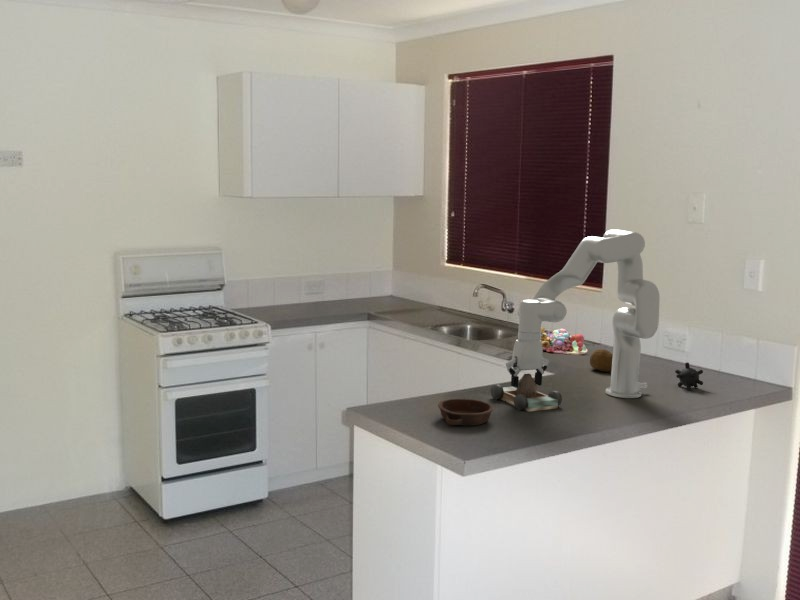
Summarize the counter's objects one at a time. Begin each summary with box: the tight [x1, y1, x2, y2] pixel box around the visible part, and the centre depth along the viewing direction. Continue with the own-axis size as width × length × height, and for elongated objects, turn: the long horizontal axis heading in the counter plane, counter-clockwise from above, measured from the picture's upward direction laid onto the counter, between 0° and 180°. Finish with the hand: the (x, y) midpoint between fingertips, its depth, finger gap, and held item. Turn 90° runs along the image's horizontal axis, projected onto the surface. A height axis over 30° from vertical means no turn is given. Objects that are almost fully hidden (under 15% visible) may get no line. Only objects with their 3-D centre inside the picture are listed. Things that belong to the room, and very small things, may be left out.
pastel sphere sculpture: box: [540, 326, 588, 356], centre depth 391 cm, size 25×24×9 cm
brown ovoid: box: [516, 373, 538, 398], centre depth 297 cm, size 7×7×9 cm
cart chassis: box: [490, 384, 563, 413], centre depth 297 cm, size 16×20×5 cm
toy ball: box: [674, 361, 704, 391], centre depth 326 cm, size 10×10×11 cm
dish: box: [437, 398, 495, 427], centre depth 273 cm, size 18×22×5 cm
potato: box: [589, 349, 613, 373], centre depth 349 cm, size 8×12×9 cm
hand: (526, 385), depth 296 cm, fingers open, 9 cm apart
